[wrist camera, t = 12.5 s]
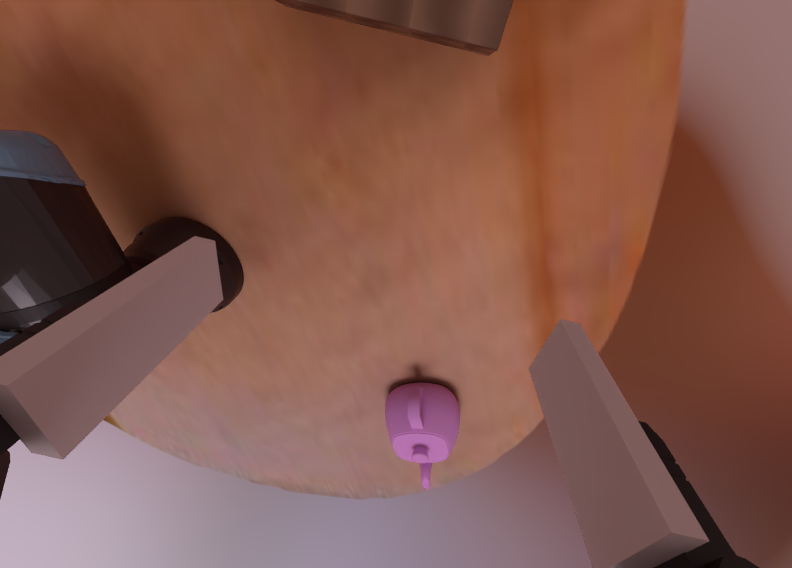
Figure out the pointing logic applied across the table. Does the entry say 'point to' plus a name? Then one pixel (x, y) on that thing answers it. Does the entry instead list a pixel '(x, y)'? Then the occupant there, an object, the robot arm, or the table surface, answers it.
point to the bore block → (423, 19)
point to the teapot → (422, 424)
